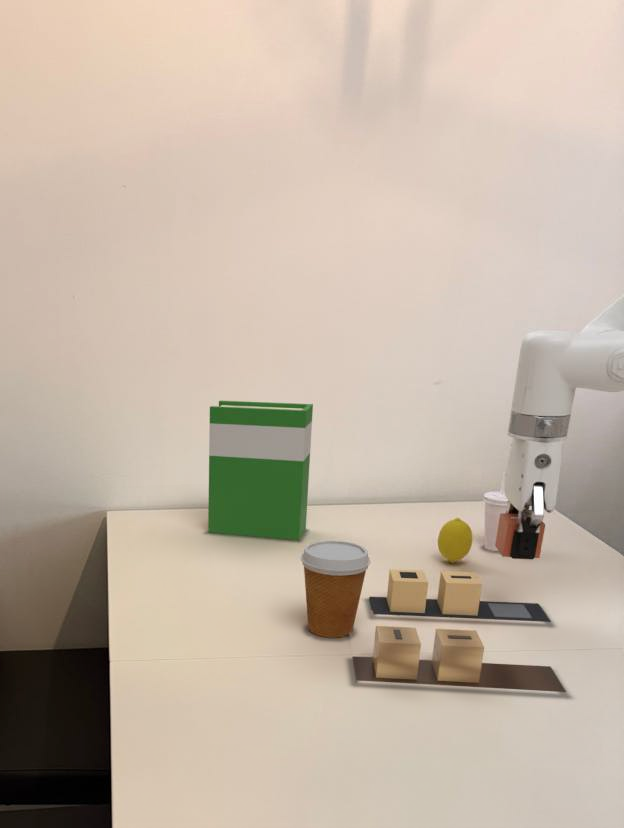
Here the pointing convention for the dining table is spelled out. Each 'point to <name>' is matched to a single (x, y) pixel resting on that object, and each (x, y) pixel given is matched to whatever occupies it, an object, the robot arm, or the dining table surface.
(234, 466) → the hardback book
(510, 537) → the block
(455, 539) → the lemon
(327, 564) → the disposable coffee cup
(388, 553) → the dining table surface
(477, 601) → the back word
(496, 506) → the smoothie
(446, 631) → the front word
